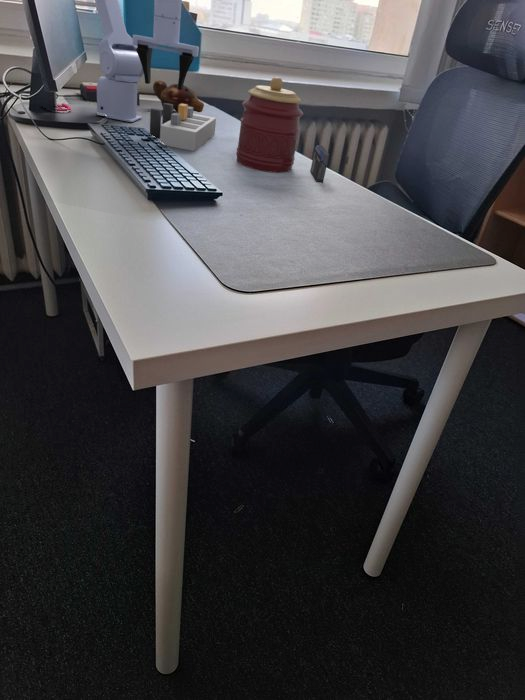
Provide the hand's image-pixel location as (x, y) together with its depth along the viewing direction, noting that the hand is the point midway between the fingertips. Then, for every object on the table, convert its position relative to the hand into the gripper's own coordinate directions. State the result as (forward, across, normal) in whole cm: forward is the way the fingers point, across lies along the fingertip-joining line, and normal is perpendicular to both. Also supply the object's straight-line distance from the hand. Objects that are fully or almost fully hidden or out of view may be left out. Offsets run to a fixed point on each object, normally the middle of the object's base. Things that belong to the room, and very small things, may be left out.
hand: (164, 86), depth 119 cm
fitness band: (+11, -28, +5) cm, 30 cm away
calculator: (+11, -23, +33) cm, 41 cm away
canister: (+10, +26, -13) cm, 31 cm away
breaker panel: (+10, +7, -1) cm, 13 cm away
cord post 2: (+10, 0, +4) cm, 11 cm away
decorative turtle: (+11, -2, +30) cm, 32 cm away
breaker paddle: (+6, +5, -1) cm, 8 cm away
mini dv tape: (+11, +38, -16) cm, 43 cm away
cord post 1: (+10, 0, -6) cm, 12 cm away
